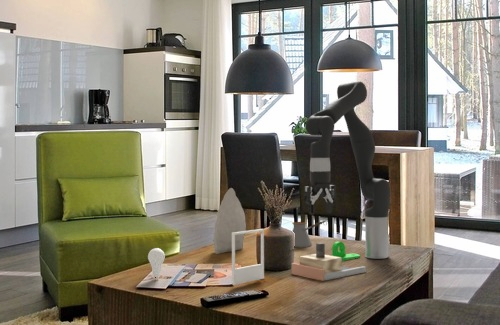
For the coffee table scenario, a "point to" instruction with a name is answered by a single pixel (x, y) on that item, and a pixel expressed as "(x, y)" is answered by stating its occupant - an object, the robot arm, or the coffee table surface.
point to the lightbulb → (156, 260)
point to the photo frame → (249, 271)
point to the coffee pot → (303, 234)
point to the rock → (229, 224)
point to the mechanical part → (342, 252)
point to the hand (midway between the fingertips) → (320, 213)
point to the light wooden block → (322, 260)
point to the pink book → (320, 273)
